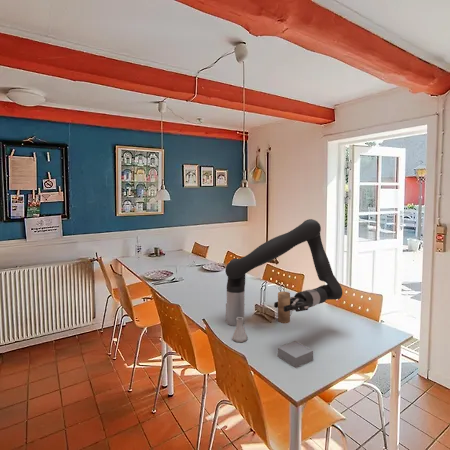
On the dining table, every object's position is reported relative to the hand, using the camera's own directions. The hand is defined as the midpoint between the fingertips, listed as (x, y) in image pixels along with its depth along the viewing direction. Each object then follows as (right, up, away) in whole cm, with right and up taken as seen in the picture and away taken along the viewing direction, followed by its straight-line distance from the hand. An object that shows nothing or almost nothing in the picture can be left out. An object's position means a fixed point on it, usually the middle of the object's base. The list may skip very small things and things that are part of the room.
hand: (279, 307), depth 130 cm
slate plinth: (+6, -20, -2) cm, 21 cm away
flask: (-16, -19, +14) cm, 29 cm away
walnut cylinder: (+2, -6, +2) cm, 7 cm away
